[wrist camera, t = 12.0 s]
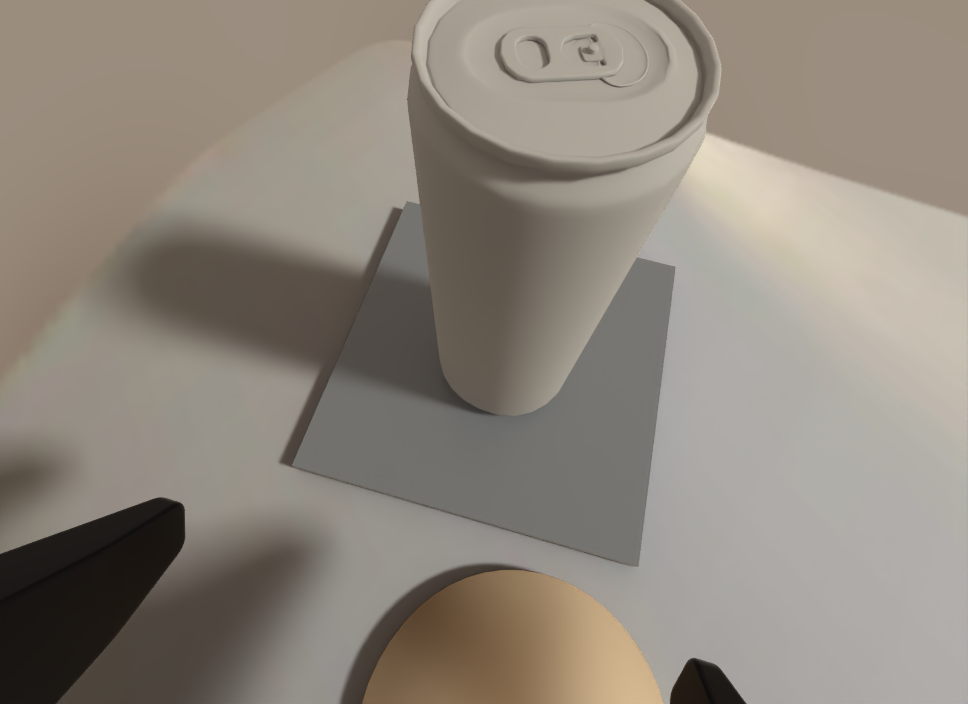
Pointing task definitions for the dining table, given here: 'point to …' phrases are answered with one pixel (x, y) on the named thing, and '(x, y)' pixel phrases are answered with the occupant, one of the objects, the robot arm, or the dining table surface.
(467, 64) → the beverage can
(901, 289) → the dining table surface
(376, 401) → the slate coaster
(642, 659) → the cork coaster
